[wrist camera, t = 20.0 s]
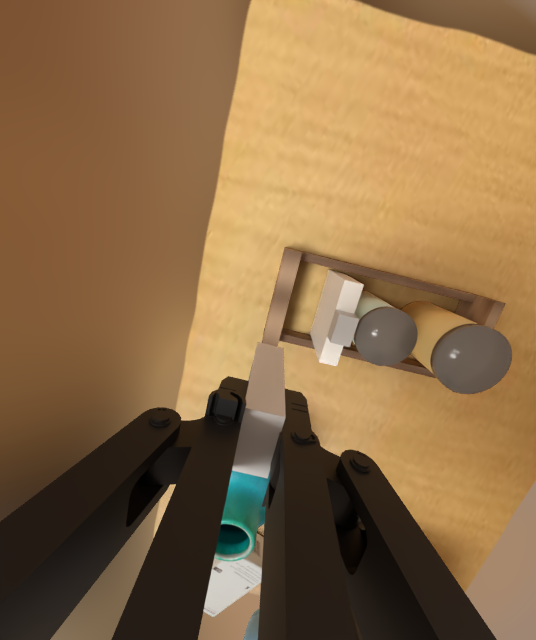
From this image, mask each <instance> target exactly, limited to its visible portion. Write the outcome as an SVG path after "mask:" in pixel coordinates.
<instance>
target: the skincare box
mask: <svg viewBox="0 0 536 640" xmlns="http://www.w3.org/2000/svg"><path fill="white" fill-rule="evenodd" d="M263 541H264V537H262V536H261V535H259V534H258V533H257V537H256V543H255V547H254V549H253V551H252V552H251V553H250V554H249V555H248V556H247V557H246V558H244V559H241V560H238V561H230V562H229V561H222V560H218V559H216V558H214V561H213V566H212V571H211V576H210V581H209V586H208V591H207V596H206V600H205V605H204V610H203V611H204V612H206V613H207V614H209V615H211V616H212V617H214V616H216V615H217V614H218V613H220V612H221V611H222V610H224V609H225V608H226V607H228V606H229V605H231V604H232V603H234V602H235V601H236V600H238V599H239V598H240V597H242V596H243V595H244V594H246V593H247V592H249V591H250V590H251V589H253V588H254V587H256V586H257V585H258V584H260V583H261V576H262V558H263Z"/></svg>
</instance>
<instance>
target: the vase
mask: <svg viewBox="0 0 536 640" xmlns="http://www.w3.org/2000/svg"><path fill="white" fill-rule="evenodd" d="M269 480H270V472H269V475H268V478H263V477H259V476H254V475H250V474H245V473H241V472H237V471H232V473H231V478H230V482H229V487H228V492H227V497H226V502H225V507H224V512H223V517H222V522H221V527H220V532H219V537H218V541H217V546H216V551H215V556H214V558H216V559H218V560H222V561H229V562H230V561H238V560H241V559H244V558H246V557H247V556H248V555H249V554H250V553H251V552H252V551H253V549H254V547H255V543H256V537H257V530H258V527H260V526H261V525H263V524H264V523H265V507H266V505H265V507H262V503H263V500H264V497H265V493H266V490H267V487H268V483H269Z"/></svg>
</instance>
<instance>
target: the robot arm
mask: <svg viewBox="0 0 536 640" xmlns="http://www.w3.org/2000/svg"><path fill="white" fill-rule="evenodd" d="M307 407H308V405H307V400H306V398H305V397H304V396H303V394H302V393H301V392H296V391H292V390H288V389H285V380H284V348H281V347H277V346H273V345H269V344H264V343H260V342H258V343H257V347H256V351H255V355H254V360H253V364H252V368H251V372H250V376H249V380H248V381H246V380H242V379H238V378H233V377H229V376H228V377H227V378H225V379H224V380H222V382H221V384H220V387H219V389H218V390H215V391H213V392H212V393H211V394H210V395H209V399H208V404H207V409H206V413H205V417H203V418H201V419H198V420H191V421H181V417H180V415H179V414H178V413H177V412H176V411H174V410H172V409H168V408H153V409H149V410H147V411H145V412H144V413H142V414H141V415H140V416H138V417H137V418H136V419H134V420H133V421H132V422H130V423H129V424H128V425H127V426H125V427H124V428H123V429H121V430H120V431H119V432H118V433H116V434H115V435H113V436H112V437H111V438H109V439H108V440H107V441H106V442H105V443H103V444H102V445H100V446H99V447H98V448H97V449H95V450H94V451H92V452H91V453H90V454H89V455H87V456H86V457H85V458H83V459H82V460H81V461H79V462H78V463H77V464H75V465H74V466H73V467H71V468H70V469H69V470H68V471H66V472H65V473H64V474H62V475H61V476H60V477H58V478H57V479H56V480H54V481H53V482H52V483H50V484H49V485H48V486H46V487H45V488H44V489H43V490H41V491H40V492H39V493H37V494H36V495H35V496H33V497H32V498H31V499H29V500H28V501H27V502H25V503H24V504H23V505H22V506H20V507H19V508H18V509H16V510H15V511H14V512H12V513H11V514H10V515H8V516H7V517H6V518H4V519H3V520H2V521H1V522H0V640H50V639H51V637H52V636H53V635H54V634H55V632H56V631H57V630H58V629H59V627H60V626H61V625H62V624H63V622H64V621H65V620H66V618H67V617H68V616H69V615H70V613H71V612H72V611H73V610H74V608H75V607H76V606H77V604H78V603H79V602H80V601H81V599H82V598H83V597H84V595H85V594H86V593H87V592H88V590H89V589H90V588H91V586H92V585H93V584H94V583H95V581H96V580H97V579H98V578H99V576H100V575H101V574H102V572H103V571H104V570H105V569H106V567H107V566H108V565H109V563H110V562H111V561H112V560H113V558H114V557H115V556H116V555H117V553H118V552H119V551H120V549H121V548H122V547H123V545H124V544H125V543H126V542H127V540H128V539H129V538H130V537H131V535H132V534H133V533H134V531H135V530H136V529H137V528H138V526H139V525H140V524H141V522H142V521H143V520H144V519H145V517H146V516H147V515H148V513H149V512H150V511H151V509H152V508H153V507H154V506H155V504H156V503H157V502H158V501H159V499H160V498H161V497H162V496H163V494H164V493H165V492H166V491H167V489H168V487H169V485H170V484H176V486H175V489H174V491H173V494H172V496H171V498H170V501H169V503H168V506H167V508H166V510H165V513H164V515H163V518H162V520H161V522H160V525H159V527H158V530H157V532H156V534H155V537H154V539H153V542H152V544H151V546H150V549H149V551H148V554H147V556H146V558H145V561H144V563H143V566H142V568H141V570H140V573H139V575H138V578H137V580H136V582H135V585H134V587H133V589H132V593H131V594H130V597H129V599H128V601H127V604H126V606H125V609H124V611H123V614H122V616H121V618H120V621H119V623H118V626H117V628H116V630H115V633H114V635H113V637H112V640H198V635H199V630H200V625H201V620H202V615H203V610H204V605H205V600H206V596H207V591H208V586H209V581H210V576H211V571H212V566H213V561H214V556H215V551H216V546H217V541H218V537H219V532H220V527H221V522H222V517H223V512H224V507H225V502H226V497H227V492H228V487H229V482H230V478H231V473H232V471H237V472H241V473H245V474H250V475H254V476H259V477H263V478H268V475H269V472H270V480H269V483H268V487H267V490H266V493H265V497H264V500H263V503H262V507H265V505H266V507H265V524H264V541H263V558H262V576H261V593H260V608H259V609H258V610H256V611H255V612H254V614H253V615H252V617H251V619H250V621H249V623H248V626H247V629H246V632H245V636H244V640H496V638H495V636H494V635H493V634H492V632H491V631H490V629H489V628H488V626H487V625H486V623H485V622H484V620H483V619H482V618H481V616H480V615H479V613H478V612H477V610H476V609H475V607H474V606H473V604H472V603H471V602H470V600H469V598H468V597H467V596H466V594H465V593H464V591H463V590H462V588H461V587H460V585H459V584H458V582H457V581H456V579H455V578H454V577H453V575H452V574H451V572H450V571H449V569H448V568H447V566H446V565H445V563H444V562H443V560H442V559H441V558H440V556H439V555H438V553H437V552H436V550H435V549H434V547H433V546H432V544H431V543H430V541H429V540H428V539H427V537H426V536H425V534H424V533H423V531H422V530H421V528H420V527H419V525H418V524H417V523H416V521H415V520H414V518H413V517H412V515H411V514H410V512H409V511H408V509H407V508H406V506H405V505H404V504H403V502H402V501H401V499H400V498H399V496H398V495H397V493H396V492H395V490H394V489H393V487H392V486H391V485H390V483H389V482H388V480H387V479H386V477H385V476H384V474H383V473H382V471H381V470H380V468H379V467H378V466H377V464H376V463H375V462H374V461H373V460H372V459H371V458H370V457H368V456H367V455H365V454H363V453H361V452H359V451H355V450H345V451H344V452H343V453H342V454H341V457H339V456H337V455H335V454H333V453H331V452H329V451H327V450H325V449H323V448H322V447H321V446H320V442H319V439H318V437H317V436H316V435H315V434H314V433H313V432H312V430H311V424H310V418H309V413H308V408H307Z"/></svg>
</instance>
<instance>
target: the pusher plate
mask: <svg viewBox="0 0 536 640" xmlns="http://www.w3.org/2000/svg"><path fill="white" fill-rule="evenodd" d="M363 286H364V284H362V283H360V282H358V281H357V280H355V279H353V278H351V277H350V276H348V275H346V274H344V273H342V272H338V271H333V270H328V273H327V277H326V280H325V284H324V287H323V290H322V294H321V297H320V301H319V304H318V307H317V311H316V314H315V317H314V321H313V324H312V328H311V331H310V335H311V338H312V341H313V345H314V348H315V351H316V354H317V357H318V361H319V362H321V363H325V364H329V365H333V366H337V364H338V361H339V358H340V355H341V352H342V349H343V346H347V347H350V345H351V342H352V339H353V336H354V333H355V330H356V327H357V324H358V322H359V318H358V317H357V316H356V315H355V314H354V313H355V310H356V307H357V304H358V301H359V298H360V295H361V292H362V289H363Z"/></svg>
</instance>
